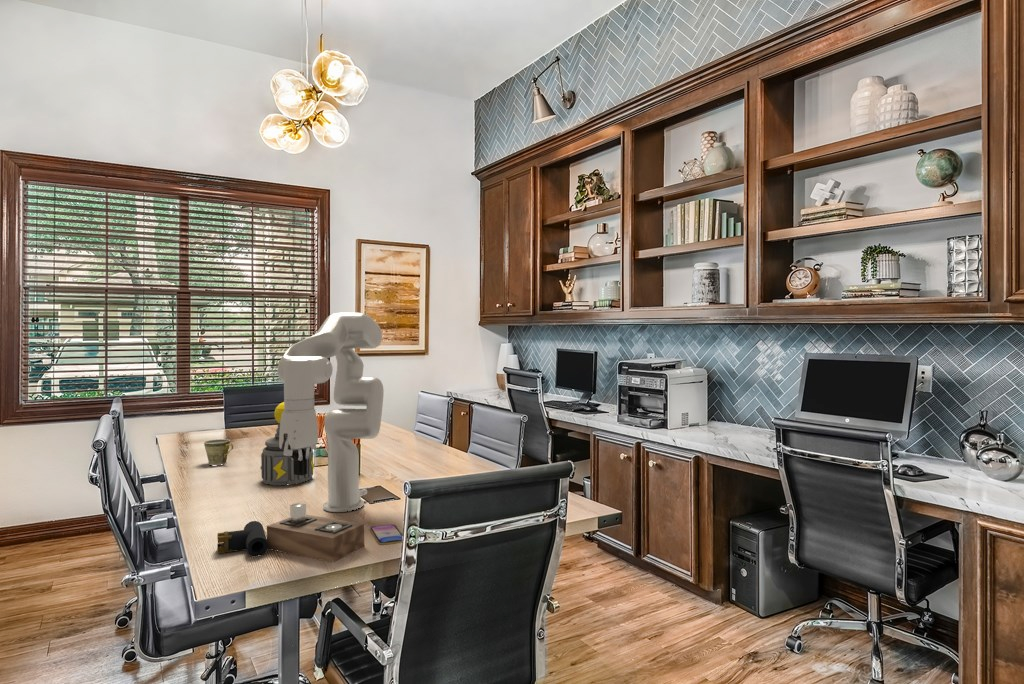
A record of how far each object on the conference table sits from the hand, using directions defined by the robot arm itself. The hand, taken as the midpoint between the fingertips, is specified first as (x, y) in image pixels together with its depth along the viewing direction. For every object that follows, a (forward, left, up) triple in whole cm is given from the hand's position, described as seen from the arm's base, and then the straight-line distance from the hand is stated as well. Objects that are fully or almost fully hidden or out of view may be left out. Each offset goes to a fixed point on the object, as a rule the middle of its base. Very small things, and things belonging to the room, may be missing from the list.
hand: (300, 474), depth 162 cm
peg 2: (0, +11, -19) cm, 22 cm away
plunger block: (0, +5, -19) cm, 20 cm away
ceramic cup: (-59, -102, -19) cm, 119 cm away
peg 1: (0, -1, -15) cm, 15 cm away
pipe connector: (+9, -12, -19) cm, 24 cm away
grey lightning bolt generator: (-51, -56, -19) cm, 78 cm away
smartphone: (-16, +16, -19) cm, 30 cm away
